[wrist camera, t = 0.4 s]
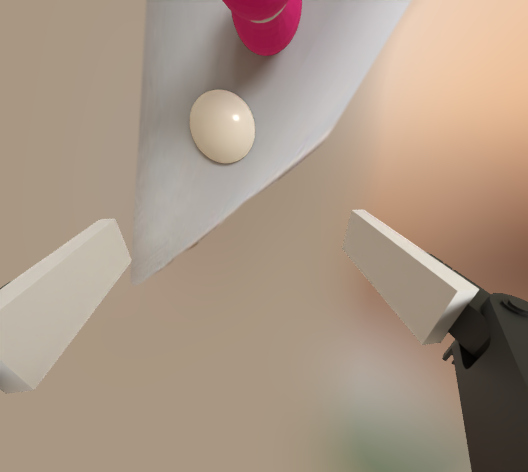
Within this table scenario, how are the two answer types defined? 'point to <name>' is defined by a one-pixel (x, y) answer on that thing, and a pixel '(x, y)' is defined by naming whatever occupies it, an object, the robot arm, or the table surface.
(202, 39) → the table surface
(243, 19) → the pepper mill
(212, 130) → the cream dome
